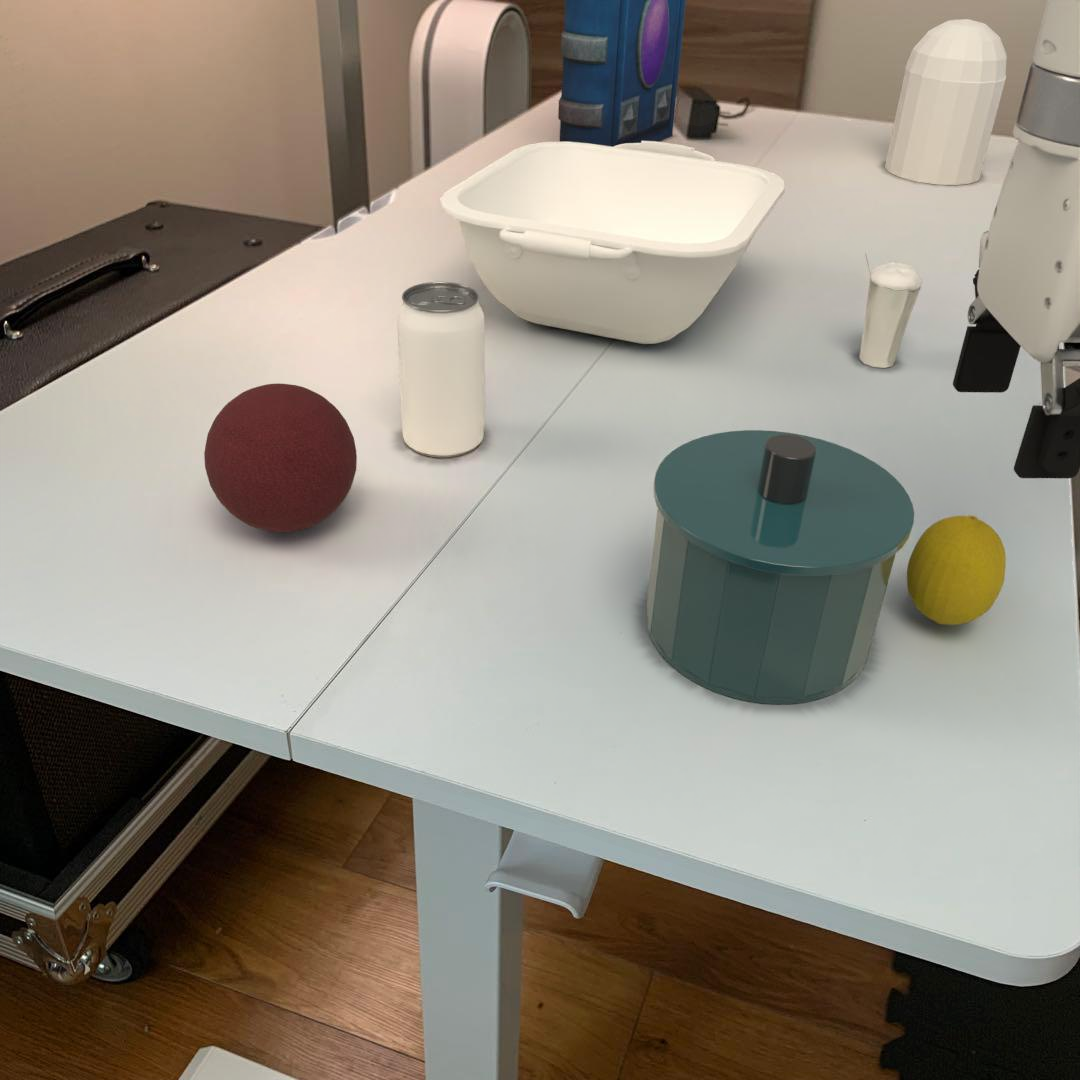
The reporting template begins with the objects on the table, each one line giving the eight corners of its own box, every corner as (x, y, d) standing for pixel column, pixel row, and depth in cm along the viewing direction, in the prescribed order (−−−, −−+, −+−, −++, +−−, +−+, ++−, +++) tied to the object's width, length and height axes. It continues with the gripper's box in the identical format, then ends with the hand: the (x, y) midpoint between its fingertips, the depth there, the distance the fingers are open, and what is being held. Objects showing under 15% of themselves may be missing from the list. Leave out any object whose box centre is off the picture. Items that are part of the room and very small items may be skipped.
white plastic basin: (541, 238, 125) (545, 125, 118) (782, 278, 117) (803, 159, 109) (405, 350, 99) (399, 212, 91) (704, 412, 90) (724, 267, 83)
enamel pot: (838, 566, 72) (867, 444, 67) (894, 706, 61) (935, 573, 56) (638, 562, 72) (651, 439, 67) (658, 702, 61) (676, 567, 55)
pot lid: (871, 449, 68) (885, 389, 65) (944, 588, 56) (965, 521, 53) (641, 443, 67) (647, 383, 65) (666, 582, 55) (674, 515, 53)
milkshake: (841, 347, 102) (862, 245, 96) (898, 352, 102) (923, 250, 96) (845, 368, 98) (868, 262, 93) (905, 373, 98) (931, 268, 92)
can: (408, 418, 88) (402, 277, 81) (486, 421, 88) (487, 281, 81) (397, 457, 82) (390, 311, 76) (480, 461, 82) (481, 315, 76)
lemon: (879, 622, 68) (907, 517, 63) (919, 585, 71) (949, 482, 66) (961, 663, 65) (998, 556, 60) (999, 622, 68) (1037, 517, 63)
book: (601, 171, 148) (618, -80, 131) (548, 160, 152) (558, -85, 135) (680, 138, 165) (704, -89, 148) (630, 128, 169) (648, -93, 152)
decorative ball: (276, 580, 69) (258, 445, 63) (186, 521, 74) (161, 392, 69) (390, 518, 75) (383, 390, 70) (300, 467, 81) (286, 345, 75)
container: (870, 172, 153) (901, 18, 141) (902, 153, 162) (934, 7, 150) (964, 191, 146) (1005, 31, 135) (992, 170, 156) (1032, 19, 144)
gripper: (1291, 163, 43) (1148, 515, 53) (1103, 72, 57) (1017, 363, 67) (1107, 162, 43) (998, 515, 53) (964, 71, 57) (899, 362, 67)
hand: (1009, 430), depth 60 cm, fingers open, 9 cm apart
